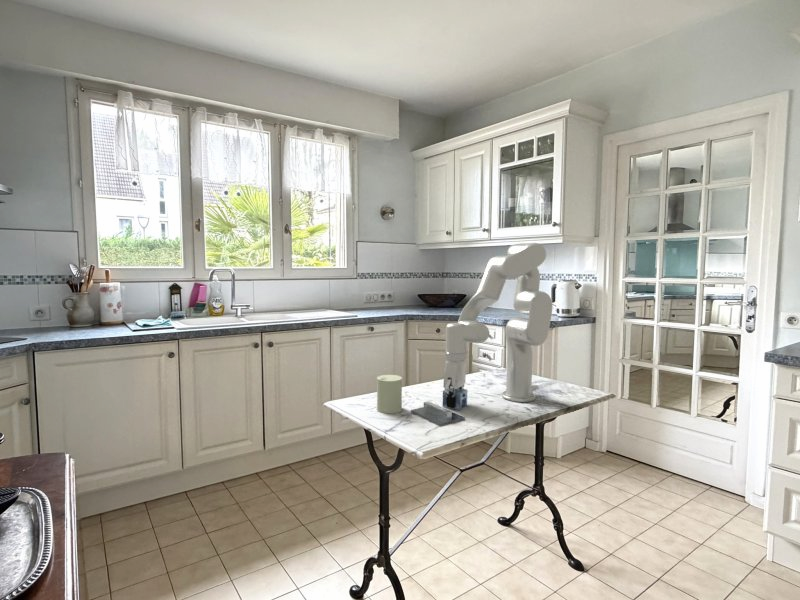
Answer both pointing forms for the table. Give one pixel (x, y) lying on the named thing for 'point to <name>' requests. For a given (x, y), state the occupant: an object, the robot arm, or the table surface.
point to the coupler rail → (436, 418)
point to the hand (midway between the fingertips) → (454, 404)
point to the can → (389, 393)
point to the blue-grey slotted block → (457, 398)
